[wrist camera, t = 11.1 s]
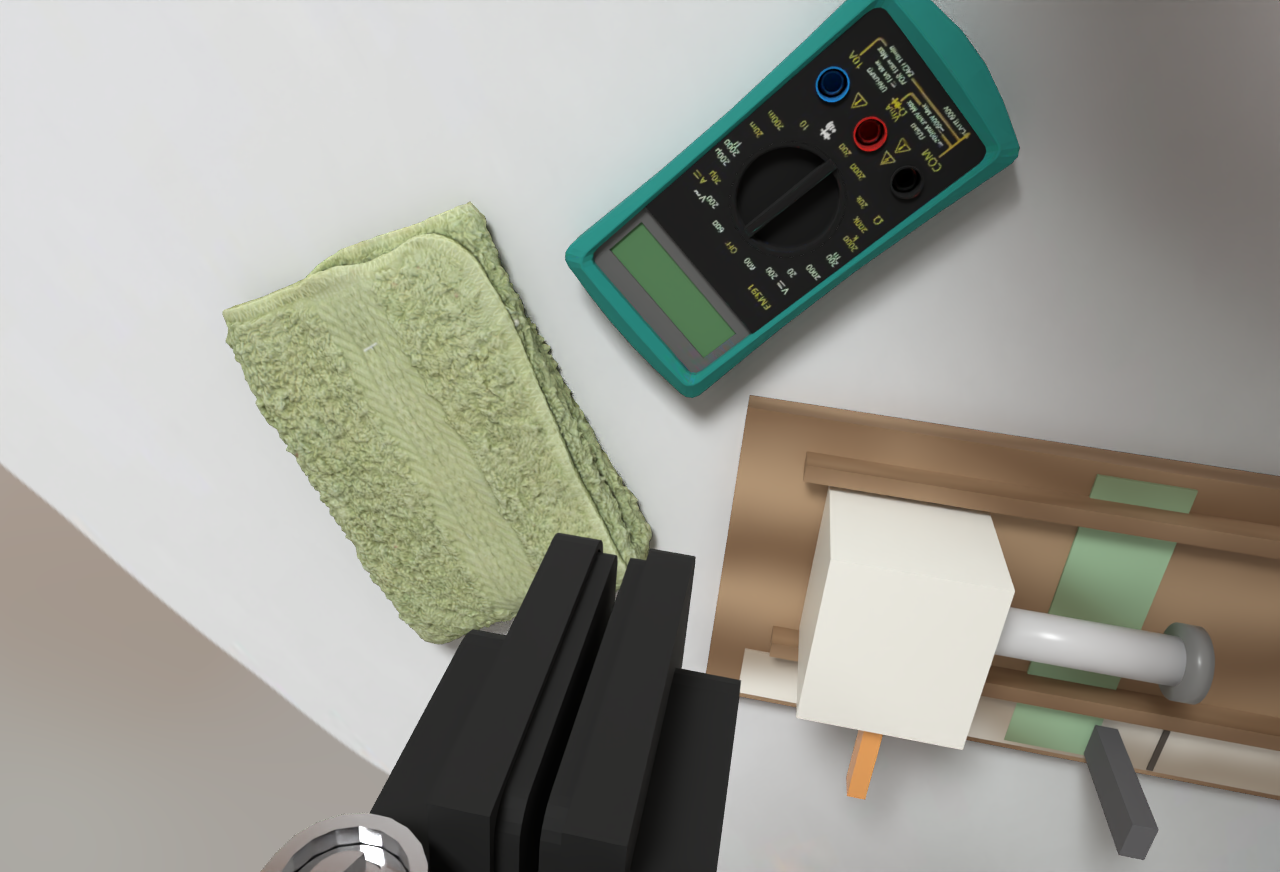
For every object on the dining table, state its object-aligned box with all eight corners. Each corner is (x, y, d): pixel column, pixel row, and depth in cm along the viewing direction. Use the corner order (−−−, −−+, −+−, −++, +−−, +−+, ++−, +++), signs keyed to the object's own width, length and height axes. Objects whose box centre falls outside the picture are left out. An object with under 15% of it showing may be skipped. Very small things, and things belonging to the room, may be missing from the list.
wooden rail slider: (749, 395, 36) (732, 495, 29) (1588, 523, 33) (1806, 674, 26) (706, 672, 43) (682, 811, 35) (1408, 805, 39) (1542, 990, 32)
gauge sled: (829, 482, 36) (830, 559, 31) (1201, 542, 34) (1264, 634, 29) (783, 701, 41) (778, 797, 36) (1107, 763, 39) (1147, 872, 34)
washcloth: (481, 178, 35) (450, 194, 32) (675, 552, 41) (663, 594, 38) (226, 307, 39) (179, 331, 37) (433, 629, 45) (406, 672, 42)
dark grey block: (1095, 724, 38) (1132, 824, 34) (1117, 729, 38) (1158, 829, 34) (1083, 753, 39) (1118, 855, 35) (1105, 757, 39) (1143, 860, 34)
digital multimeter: (1027, 133, 31) (1045, 145, 29) (693, 383, 37) (682, 412, 35) (897, -49, 30) (904, -54, 27) (570, 243, 36) (550, 262, 33)
